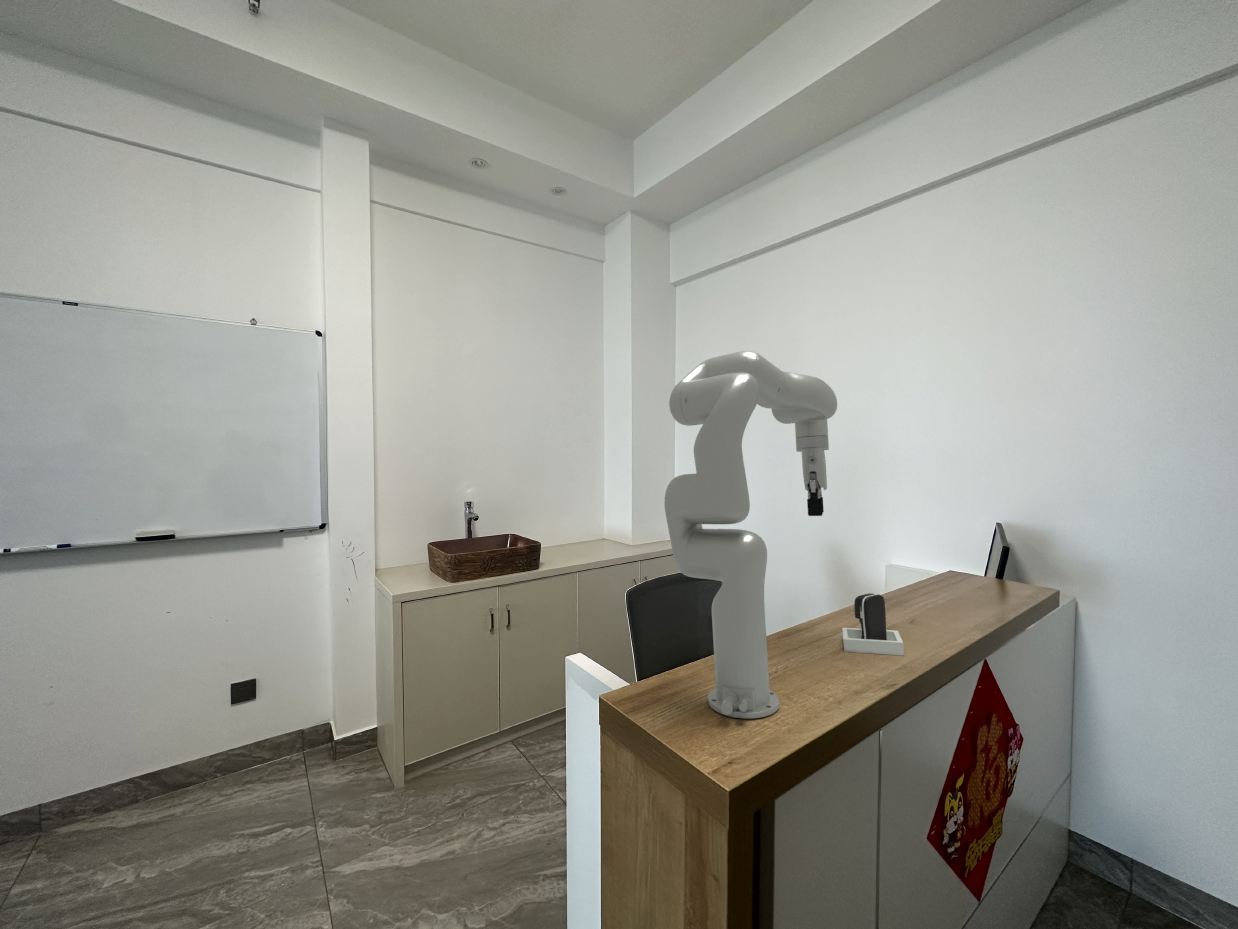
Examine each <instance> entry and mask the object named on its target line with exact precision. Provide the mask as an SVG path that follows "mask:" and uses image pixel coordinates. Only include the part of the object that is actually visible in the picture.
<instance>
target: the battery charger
mask: <svg viewBox="0 0 1238 929" xmlns="http://www.w3.org/2000/svg"><path fill="white" fill-rule="evenodd" d="M885 604H886V602H885V597H884V596H883V595H882V594H878V593H869V592H868V593H864V594H861V595H858V596H856V597H855V599H854V606H853V607H854V618H855V619H858V621H859V623H860V627H861V628H860V629H862V637H861V639H871V640H887V635H886V630H887V613H886V605H885Z"/></svg>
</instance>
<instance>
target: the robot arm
mask: <svg viewBox="0 0 1238 929" xmlns="http://www.w3.org/2000/svg"><path fill="white" fill-rule="evenodd" d="M668 403H669V412H670V414H671V415H672V418H673V419H674V420H675V422H676V423H678V424H680V425H682V426H683V425H684V426H687V427H688V426H689V427H690V426H699V425H702V426H701V427H700V429H699V430H698V432H697V435H696V437H695V441H694V445H693V457H694V458H693V459H694V464H695V472H696V473H687V474H680V475H677V476H675V477H674V478H673V479H672V480H670V481H669V483H668V485H667V486H666V490H665V495H664V502H663V503H664V513H665V519H666V523H667V524H666V525H667V528H668V534H669V540H670V545H671V550H672V555H673V560H674V562H675V566H676V567H677V569H678V570H679V573H681V574H683V576H686V577H689V578H694V579H702V580H704V579H705V580H713V581H718V582H721V586H720V588H719V590H718V591H717V592H716V594H715V596H714V597H713V600H712V602H711V603H712V604H711V622H712V623H711V624H712V638H713V639H712V640H713V657H714V659H713V661H714V676H715V688H712V689H711V691H709V693H708V695H707V702H708V705H709V707H710V708H711V709H713V710H714V711H716V712H717V713H719V714H721V715H724V716H726V717H731V718H736V719H744V720H746V719H749V720H751V719H760V718H766V717H768V716H771V715H773V714H774V713H775V712H777V711H778V709H779V708H780V698H779V696H778V695H777V693H776V692H774V691H773V690H772V689H770V680H769V679H770V678H769V677H770V676H769V658H768V644H767V642H768V641H767V628H766V627H767V626H766V625H767V624H766V609H765V607H766V606H765V604H766V603H765V581H766V574H767V572H766V571H767V564H768V549H767V545H766V543H765V541H764V540H763V538H762V537H761V536H760V535H759V534H757V533H755V532H753V531H752V530H751V531H749V530H746V529H738V528H703V525H733V524H738V523H742V522H743V521H745V520H746V519H747V517H748V516H749V514H750V510H751V509H750V508H751V505H750V504H751V503H750V495H749V494H750V493H749V488H748V481H747V480H748V479H747V476H746V475H747V474H746V469H745V463H744V462H745V461H744V455H743V439H744V438H743V437H744V433H745V430H746V427H747V424H748V423H749V420H750V418H751V417H752V415H753V412H754V411H755V409H756V406H757V405H758V406H760V407H761V408H765V409H771V413H772V416H773V417H774V418H775V420H776V421H778V422H779V423H781V424H787V425H791V424H794V432H795V447H796V448H795V449H796V452H797V453H798V452H799V453H801V463H802V464H801V465H802V476H803V483H804V484H803V485H804V489H805V491H807V499H806V504H807V505H806V506H807V516H809V517H821V516H823V514H824V511H825V510H824V497H823V496H822V495H823V494H822V488H823V491H826V490H827V489H828V481H827V480H828V479H827V463H826V455H825V451H829V450H830V445H829V433H828V432H829V430H828V428H829V427H828V420H829V419H830V418H832V417H833V416H834V415H835V414H836V412H837V410H838V399H837V396H836V393H835V392H834V389H833V388H832V387H831V386H830V385H829V384H828V383H826V382H825V381H824V380H823V379H821V378H818V377H816V376H812V375H807V374H801V373H795V372H791V371H790V372H789V371H782V370H781V369H780V368H778V367H777V366H776V365H774V364H773V363H772V362H770V361H769V360H768V359H767V358H765V357H764V356H762V355H761V354H760V353H758V352H755V351H751V350H741V351H738V352H734V353H727V354H723V355H719V356H713V357H710V358H708V359H706V360H704V361H702V362H701V363H699V364H698V365H697V366H696V367H695V368H693V369H692V370H691V371H690V372H689V373H687V374H686V375H685V376H684V377H683V378H682V379H681V380H680V381H679V382H677V384H676V385H675V386H674V387H673V389H672V391H671V393H670V395H669V402H668Z"/></svg>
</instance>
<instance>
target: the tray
mask: <svg viewBox="0 0 1238 929" xmlns="http://www.w3.org/2000/svg"><path fill="white" fill-rule="evenodd" d="M841 629H842V642H843V651H844V653H845V652H848V653H861V654H862V653H863V654H873V655H875V654H876V655H889V656H890V655H891V656H902V657H904V656H905V650H904V647H905V646H904V641H903V639H902V637H901V635H900V632H899V630H894V629H893V630H890V629H889V630H888V629H886V635H887V640H871V639H861V637H862V629H861V628H854V627H842V628H841Z"/></svg>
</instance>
